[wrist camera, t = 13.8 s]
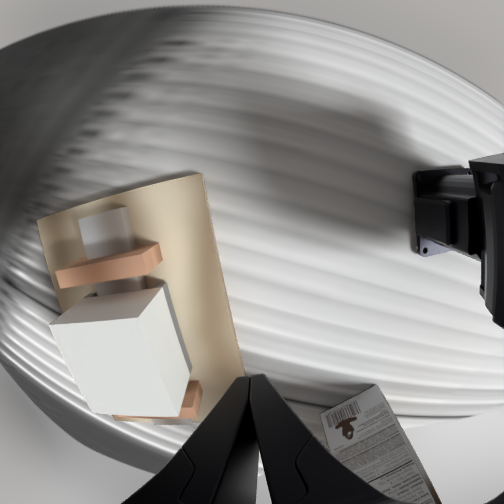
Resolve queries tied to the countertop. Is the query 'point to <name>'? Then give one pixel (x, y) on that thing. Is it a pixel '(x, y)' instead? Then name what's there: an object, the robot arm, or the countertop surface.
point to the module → (126, 352)
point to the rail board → (153, 274)
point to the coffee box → (377, 447)
